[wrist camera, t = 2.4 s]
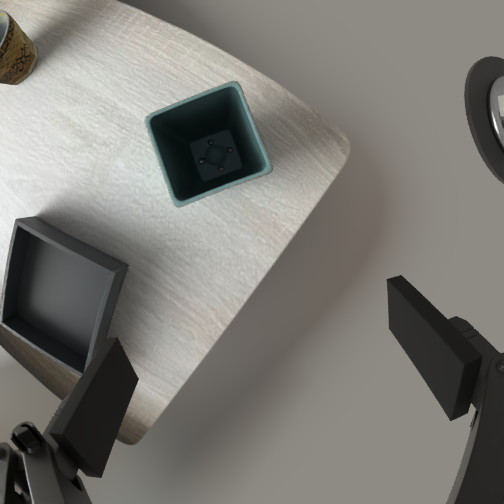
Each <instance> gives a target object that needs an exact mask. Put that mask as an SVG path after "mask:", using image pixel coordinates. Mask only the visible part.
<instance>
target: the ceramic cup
mask: <svg viewBox="0 0 504 504" xmlns="http://www.w3.org/2000/svg"><path fill="white" fill-rule="evenodd" d="M37 60H38V54H37V48H36V46H35V45H34V43H33V42H32V41H31V40H30V39H29V38H28V36H27V35H26V34H25V33H24V32H23V31H22V30H21V28H20V27H19V25H18V24H17V23H16V21H15V20H14V19H13V18H12V17H11V16H10V15H9V14H8V13H7V12H5V11H2V10H0V83H2V84H9V85H18V84H19V83H20V82H22V81H23V80H24V79H25V78H27V77H28V76H29V75H30V74H31V72H32V70H33V68H34V66H35V64H36V62H37Z"/></svg>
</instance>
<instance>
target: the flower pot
mask: <svg viewBox="0 0 504 504" xmlns="http://www.w3.org/2000/svg"><path fill="white" fill-rule="evenodd" d="M144 122H145V126H146V129H147V131H148V134H149V137H150V140H151V143H152V146H153V148H154V151H155V154H156V157H157V160H158V163H159V166H160V169H161V171H162V174H163V177H164V180H165V183H166V185H167V188H168V191H169V194H170V197H171V200H172V202H173V204H174V205H175V206H176V207H183V206H186V205H188V204H190V203H193V202H195V201H197V200H200V199H202V198H205V197H207V196H210V195H212V194H215V193H217V192H220V191H222V190H225V189H228V188H230V187H233V186H236V185H239V184H241V183H244V182H247V181H250V180H252V179H255V178H258V177H261V176H264V175H267V174H269V173H270V172H271V171H272V169H273V168H272V164H271V161H270V159H269V156H268V154H267V151H266V149H265V146H264V144H263V142H262V139H261V137H260V134H259V132H258V129H257V127H256V124H255V121H254V119H253V116H252V114H251V111H250V109H249V106H248V104H247V101H246V99H245V96H244V93H243V90H242V88H241V86H240V84H239V83H238V82H237V81H231V82H228V83H225V84H223V85H220V86H217V87H215V88H212V89H209V90H207V91H205V92H202V93H200V94H197V95H194V96H191V97H189V98H187V99H184V100H182V101H180V102H177V103H174V104H172V105H169V106H167V107H165V108H162V109H160V110H157V111H155V112H153V113H151V114H149V115H148V116H146V117H145V120H144ZM210 140H213V144H209V141H210ZM228 148H232V152H228ZM202 158H203V159H204V160H205V162H204V163H201V162H200V160H201V159H202ZM221 166H222V167H223V168H224V169H223V171H219V167H221Z"/></svg>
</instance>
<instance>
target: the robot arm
mask: <svg viewBox="0 0 504 504" xmlns="http://www.w3.org/2000/svg"><path fill="white" fill-rule="evenodd" d="M486 105H487V114H488V119H489V123H490V127H491V130H492V132H493V135H494V137H495V139H496V142H497V143H498V145H499V147H500V149H501V150H502V152H503V153H504V76H501V77H499V78H496V79H495V80H493V81H492V82H491V84H490V86H489V88H488V91H487V99H486ZM387 291H388V313H389V329H390V330H391V332H392V333H393V335H394V336H395V338H396V339H397V340H398V342H399V343H400V345H401V346H402V348H403V349H404V351H405V352H406V354H407V355H408V356H409V358H410V359H411V361H412V362H413V364H414V365H415V367H416V368H417V370H418V371H419V373H420V374H421V376H422V377H423V379H424V380H425V382H426V383H427V385H428V387H429V388H430V390H431V391H432V393H433V394H434V396H435V397H436V399H437V400H438V402H439V404H440V405H441V407H442V408H443V410H444V412H445V413H446V414H447V416H448V418H449V420H450V421H452V420H454V419H456V418H459V417H461V416H463V415H465V414H467V413H468V411H469V407H470V404H471V403H472V404H473V405H474V407H475V408H476V411H475V414H474V417H473V420H472V422H471V425H470V427H471V430H470V434H469V438H468V441H467V445H466V448H465V452H464V455H463V458H462V462H461V465H460V468H459V471H458V474H457V476H456V480H455V482H454V485H453V487H452V490H451V493H450V495H449V498H448V501H447V503H446V504H504V353H499V352H498V351H497V350H496V349H495V348H494V347H493V346H492V345H491V344H490V343H489V342H488V341H487V340H486V339H485V338H484V337H483V336H482V335H481V334H479V332H478V331H477V330H476V329H474V328H473V326H472V325H471V324H469V323H468V322H467V321H466V320H464V319H462V318H459V317H457V316H455V317H453V318H450V319H447V318H446V317H444V315H443V314H441V313H440V312H439V311H438V310H437V309H436V308H435V307H434V306H433V305H432V304H431V303H430V302H429V301H428V300H427V299H426V298H425V297H424V296H423V295H422V294H421V293H420V292H419V291H418V290H417V289H416V288H414V287H413V286H412V285H411V284H410V283H409V282H408V281H407V280H406V279H405V278H404V277H403V276H402V275H400V276H397V277H393V278H389V279H387ZM138 380H139V378H138V377H137V375H136V373H135V371H134V369H133V367H132V365H131V363H130V361H129V359H128V357H127V356H126V354H125V352H124V350H123V347H122V345H121V343H120V341H119V339H118V337H114V338H108V339H105V340H104V341H103V343H102V344H101V346H100V348H99V349H98V351H97V352H96V354H95V355H94V357H93V359H92V360H91V362H90V363H89V365H88V366H87V368H86V370H85V371H84V373H83V375H82V376H81V378H80V379H79V381H78V383H77V384H76V386H75V388H74V389H73V391H72V393H70V394H69V395H68V396H67V397H66V398H65V399H63V400H62V402H61V404H60V405H59V407H58V410H56V412H55V414H54V416H53V417H52V419H51V421H50V422H49V424H48V426H47V428H46V430H45V431H44V433H43V435H41V433H40V432H39V431H38V430H37V428H36V427H35V426H34V425H33V424H32V423H31V422H23V423H20V424H19V425H18V426H16V427H15V428H14V429H13V430H12V432H11V434H10V439H11V440H12V442H13V443H14V444H15V445H16V446H17V447H18V449H19V450H13V449H12V448H11V446H10V445H9V444H8V443H5V442H4V443H0V504H92V502H91V500H90V498H89V496H88V494H87V492H86V489H85V487H84V485H83V482H82V480H81V478H80V477H79V476H78V475H77V471H78V469H80V470H82V472H83V473H84V474H85V475H86V476H89V477H98V478H101V477H102V474H103V471H104V469H105V466H106V463H107V460H108V458H109V455H110V452H111V449H112V447H113V444H114V441H115V439H116V436H117V433H118V431H119V428H120V426H121V423H122V420H123V418H124V415H125V413H126V410H127V407H128V405H129V402H130V400H131V397H132V395H133V392H134V390H135V387H136V385H137V382H138ZM14 486H16V487H18V488H19V494H18V493H17V492H15V487H14Z"/></svg>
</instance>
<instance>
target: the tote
mask: <svg viewBox="0 0 504 504" xmlns="http://www.w3.org/2000/svg"><path fill="white" fill-rule="evenodd" d="M128 266H129V265H128V264H126V263H124V262H122V261H120V260H118V259H116V258H114V257H112V256H110V255H108V254H106V253H104V252H102V251H100V250H98V249H96V248H94V247H92V246H90V245H88V244H86V243H84V242H82V241H80V240H78V239H76V238H74V237H72V236H71V235H69V234H67V233H65V232H63V231H61V230H59V229H57V228H55V227H53V226H52V225H50V224H48V223H46V222H44V221H42V220H41V219H39V218H37V217H35V216H34V217H26V218H19V219H16V220H15V224H14V228H13V233H12V237H11V242H10V247H9V252H8V258H7V263H6V269H5V276H4V282H3V290H2V298H1V307H0V324H1V325H2V326H3V327H5V328H6V329H7V330H9V331H10V332H11V333H13V334H14V335H16V336H17V337H19V338H20V339H22V340H23V341H24V342H26V343H27V344H29V345H30V346H32V347H33V348H35V349H36V350H38V351H40V352H41V353H43V354H44V355H46V356H47V357H49V358H51V359H52V360H54V361H56V362H57V363H59V364H61V365H62V366H64V367H66V368H67V369H69V370H71V371H73V372H74V373H76V374H78V375H80V376H82V375H83V373H84V371H85V370H86V368H87V366H88V365H89V363H90V362H91V360H92V359H93V357H94V355H95V354H96V352H97V351H98V349H99V348H100V346H101V344H102V343H103V341H104V340H105V339H106V336H107V333H108V329H109V326H110V322H111V319H112V315H113V312H114V309H115V306H116V302H117V299H118V296H119V293H120V290H121V287H122V284H123V281H124V278H125V275H126V272H127V269H128Z"/></svg>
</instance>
